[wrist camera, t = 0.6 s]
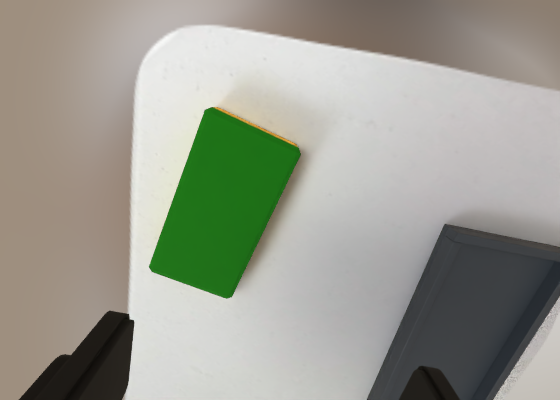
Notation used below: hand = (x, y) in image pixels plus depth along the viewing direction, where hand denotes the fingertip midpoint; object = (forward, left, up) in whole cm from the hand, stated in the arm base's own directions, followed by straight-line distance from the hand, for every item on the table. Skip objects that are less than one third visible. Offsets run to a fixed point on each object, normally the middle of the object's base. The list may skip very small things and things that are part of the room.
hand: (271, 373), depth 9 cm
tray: (+14, +18, -15) cm, 27 cm away
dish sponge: (-1, -4, -15) cm, 16 cm away
